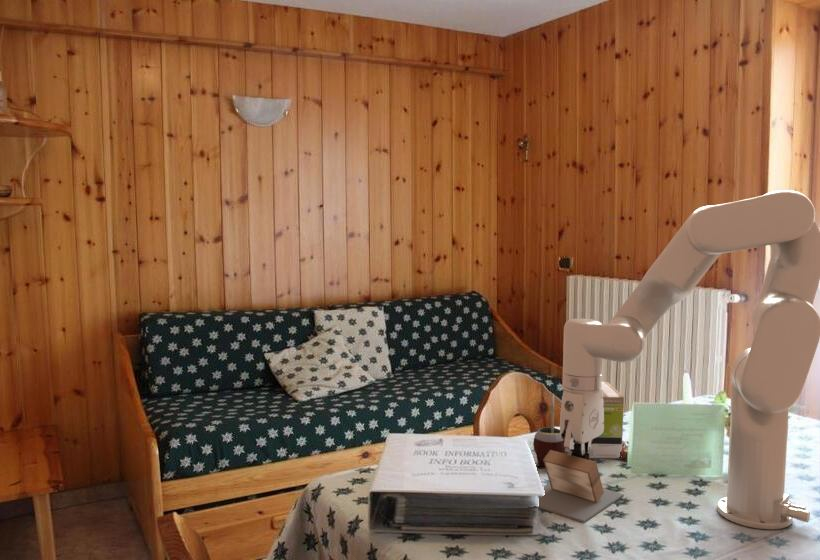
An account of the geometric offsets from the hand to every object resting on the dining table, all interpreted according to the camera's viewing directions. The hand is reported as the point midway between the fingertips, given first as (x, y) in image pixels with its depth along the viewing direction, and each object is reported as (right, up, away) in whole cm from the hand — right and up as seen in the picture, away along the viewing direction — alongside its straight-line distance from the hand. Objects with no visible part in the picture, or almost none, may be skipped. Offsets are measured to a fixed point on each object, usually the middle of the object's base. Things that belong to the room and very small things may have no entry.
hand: (579, 471), depth 141 cm
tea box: (+10, -2, +28) cm, 29 cm away
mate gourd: (-3, -3, +16) cm, 17 cm away
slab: (-1, -4, -1) cm, 4 cm away
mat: (-2, -5, -2) cm, 6 cm away
